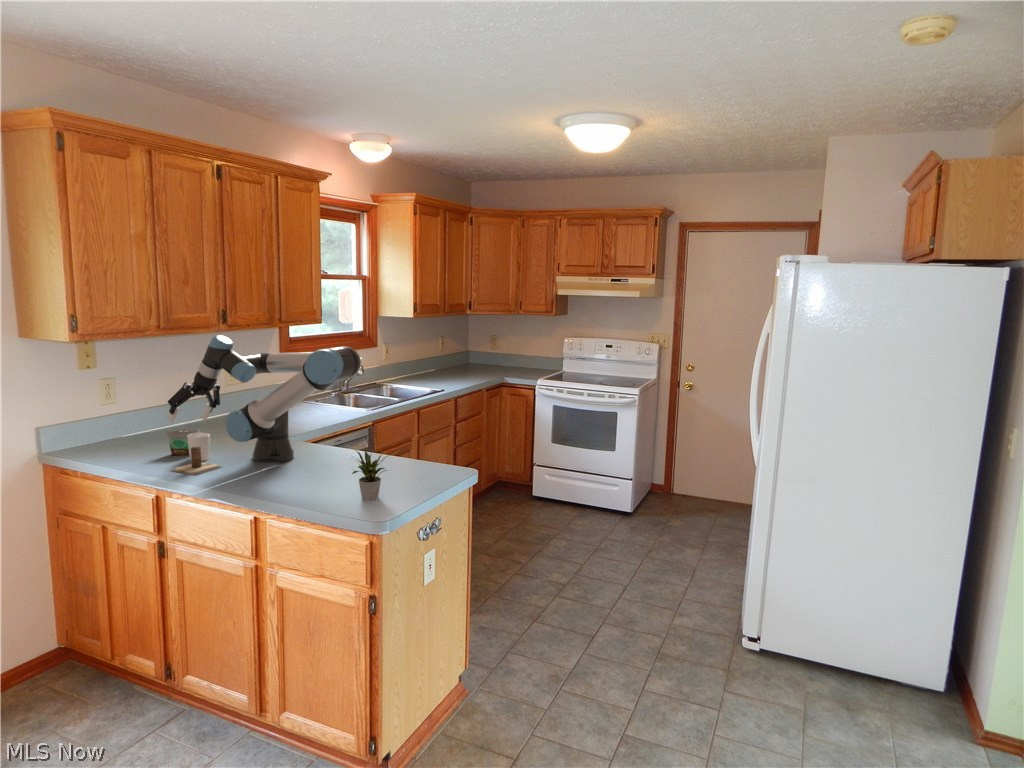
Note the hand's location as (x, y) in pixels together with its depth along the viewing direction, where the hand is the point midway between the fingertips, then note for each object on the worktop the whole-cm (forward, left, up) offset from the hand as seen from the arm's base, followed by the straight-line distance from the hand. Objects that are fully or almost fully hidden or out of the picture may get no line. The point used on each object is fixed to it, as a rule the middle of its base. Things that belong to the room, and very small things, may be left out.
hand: (187, 419), depth 250 cm
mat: (-15, +10, -15) cm, 24 cm away
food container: (+6, -3, -16) cm, 17 cm away
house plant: (-86, +7, -16) cm, 88 cm away
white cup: (-5, -1, -16) cm, 16 cm away
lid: (-15, +10, -15) cm, 23 cm away
